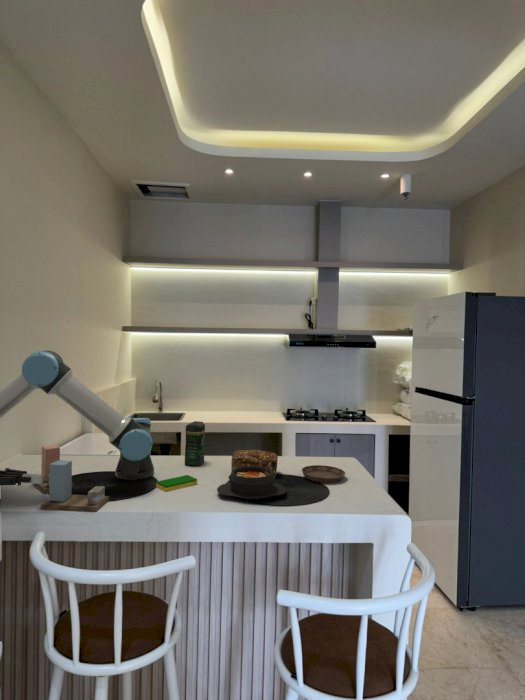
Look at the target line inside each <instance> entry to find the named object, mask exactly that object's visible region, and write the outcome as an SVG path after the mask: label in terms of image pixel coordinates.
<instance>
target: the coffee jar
mask: <svg viewBox="0 0 525 700" xmlns="http://www.w3.org/2000/svg"><path fill="white" fill-rule="evenodd" d="M205 433H206V424H205V423H204V422H203V421H196V420H195V421H193V422H190V423H188V424H186V425H185V444H184V445H185V447H184V451H185V452H184V465H186V464H187V466H189V465H195V466H201V465H202V464H203V463H204V462H205V435H206V434H205ZM200 464H201V465H200Z"/></svg>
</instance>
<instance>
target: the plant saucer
mask: <svg viewBox="0 0 525 700" xmlns="http://www.w3.org/2000/svg"><path fill="white" fill-rule="evenodd" d="M301 472H302V474H303V476H304V477H305V478H306V479H308V480H309V479H310V480H309V481H311V480H312V481H311V482H314V481H316V482H315V483H319V482H320V483H322V484H333V483H337V482H340V481H341V480H342V479H343V478H344V477H345V475H346V472H345V470H344V469H341V468H339V467H335V466H329V465H320V464H317V465H314V464H313V465H307V466H304V467H302V468H301Z"/></svg>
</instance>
